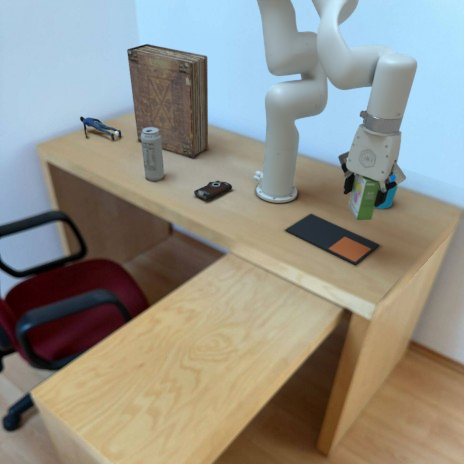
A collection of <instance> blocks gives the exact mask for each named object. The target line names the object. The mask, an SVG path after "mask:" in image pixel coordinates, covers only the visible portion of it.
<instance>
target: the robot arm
mask: <svg viewBox="0 0 464 464" xmlns="http://www.w3.org/2000/svg"><path fill="white" fill-rule="evenodd" d="M311 2H312V4H313V7H314V9H315V11H316V13H317V15H318V17H319V19H320V20H319V24H318V27H317V32H315V31H310V30H307V31H299V30H298V26H297V16H296V14H297V13H296V10H295V7H294V4H293V2H292V0H256V3H257V7H258V9H259V13H260V19H261V28H262V29H261V30H262V36H263V45H264V54H265V55H264V56H265V62H266V67H267V70H268V72H269V73H270V75H272V76H276V77H284V76H285V77H286V76H293V75H300V79H293V80H287V81H280V82H277V83H275V84H273V85H271V86H270V87H269V88H268V90H267V91H266V93H265V96H264V109H265V122H266V123H265V125H266V126H265V140H264V153H263V154H264V155H263V166H262V171H260V170H256V171H255V173H254V175H253V177H252V178H253V180H254V181H256V182H258V184H257V186H256V189H255V190H256V191H255V193H256V195H257V196H258V197H259V198H260V199H261V200H263V201H266V202H270V203H275V204H283V203H284V204H285V203H289V202H291V201H293V200H295V199H296V198H297V196H298V188H296V187H295V186H294V181H295V175H296V166H297V160H298V152H299V147H300V145H299V144H300V133H299V130H298V128H297V126H296V124H295V123H296V121H297V120H300V119H306V118H310V117H315V116H318V115H320V114H322V113H323V112H324V111H325V109H326V107H327V104H328V101H329V99H328V98H329V87H328V86H329V85H328V81H329V82H330V83H331V85H332V86H333V87H335V88H336V89H338V90H341V91H349V90H355V89H362V88H370V93H369V97H368V101H367V105H366V110H363V109H362V110H361V111H360V112H359V117H360V118H362V119H363V120H362V123H361V124H359V125H358V127H357V128H356V131H355V134H354V136H353V139H352V142H351V145H350V148H349V150H348V151H346V152H343V153H340V154H339V155H338V156H337V158H338V162H339V164H340V167H341V170H342V172H343V177H344V178H345V180H344V185H343V195H348V194H351V192H352V187H353V183H354V178H355V174H359V175H362V176H364V177H367V178H370V179H372V180H375V181H379V183H380V187H381V190H379V191H378V193H377V197H376V201H375V204H374V206H375V207H378V206H380V205H381V204H383V203H384V202H385V200H386V197H387V194H388V190H390V189H392V188H394V187H395V186H397V185H398V186H399V185H400V184H401V183H402V182H405V180H406V179H407V176H406V174H405V173H404V172H403V170H402V168H401V167H400V166H399V165H398V161H399V155H400V150H401V144H402V131H401V125H402V123H403V118H404V115H405V113H406V112H405V111H406V109H407V105H408V101H409V98H410V94H411V90H412V87H413V84H414V81H415V76H416V73H417V69H418V61H417V60H416V58H414V57H413V56H411V55H408V54H404V53H399V52H397V51H395V50H394V49H393V48H391V47H389V46H387V45H385V44H372V45H371V44H370V45H361V46H360V45H359V46H351V47H349V46H348V44H347V43H346V41H345V39H344V37H343V35H342V33H341V30H340V26H341V25H342V24H343V23H344V22H346V21H347V20H348V19H349V18H351V16H352V15H353V13H354V12H355V10H356V9H357V7H358V4H359V0H311ZM393 174H394V175H395V176H396V180H394V181H392V182H391V180H390V176H392V175H393ZM398 186H397V187H398Z"/></svg>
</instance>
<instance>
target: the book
mask: <svg viewBox="0 0 464 464" xmlns="http://www.w3.org/2000/svg"><path fill="white" fill-rule="evenodd" d="M126 53H127V60H128V68H129V76H130V85H131V86H130V87H131V92H132V93H131V94H132V102H133V110H134V119H135V126H136V134H137V141H138V142H140V143H141V134H142V130H143V129H144V128H147V127H155V128H157V129H158V130H159V133H160V134H161V142H162V150H165V151H168V152H172V153H175V154H177V155H181V156H183V157H187V158H190V159H194V158H195V155H197V154H199V153H201V152H202V151H207V150H208V149H209V109H208V108H209V100H208V99H209V98H208V97H209V92H208V91H209V89H208V88H209V87H208V86H209V85H208V79H209V78H208V76H209V75H208V55H204V54H200V53H194V52H191V51H184V50H179V49H175V48H170V47H169V48H168V47H164V46H158V45H154V44H150V43H146V44H142V45H138V46H134V47H131V48H127V50H126Z"/></svg>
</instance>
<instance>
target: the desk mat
mask: <svg viewBox="0 0 464 464" xmlns="http://www.w3.org/2000/svg"><path fill="white" fill-rule="evenodd" d="M285 232H287V233H289V234H290V235H293V236H295V237H296V238H299V239H301V240H303V241H305V242H307V243H309V244H312V245H313V246H315V247H317V248H319V249H321V250H323V251H325V252H328V253H329V254H331V255H334V256H335V257H338V258H340V259H342V260H343V261H346V262H348V263H350V264H351V265H354V266H356V265H358V264H359V263H360V262H361V261H363V260H364V259H365V258H366V257H368V256H369V255H370V254H371V253H372V252H374V251H375V250H377V248H379V246H380V244H379V243H377V242H375V241H373V240H370V239H369V238H366V237H364V236H361V235H359V234H357V233H355V232H352V231H351V230H348V229H346V228H345V227H344V228H343V227H341V226H339V225H337V224H335V223H332V222H330V221H329V220H326V219H325V218H322V217H320V216H317V215H315V214H313V213H310V214H308V215H306V216H304V218H302V219H300V220H298V221H297V222H295V223H294V224H292V225H290V226H289V227H287V228H286V229H285Z"/></svg>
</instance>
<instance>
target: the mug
mask: <svg viewBox="0 0 464 464" xmlns="http://www.w3.org/2000/svg"><path fill="white" fill-rule="evenodd" d="M390 180H391V182H392V181H394V180H396V176H395V175H394V174H393V175H392V176H390ZM398 186H399V184H398V185H397V186H395V187H394V188H392V189H390V190H388V194H387V197H386V200H385V202H384V203H383V204H381V205H380V206H378V207H375V208H374V209H388V208H391V207H392V205H393V202H394V199H395V196H396V192H397V189H398ZM380 190H381V187H380Z"/></svg>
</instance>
